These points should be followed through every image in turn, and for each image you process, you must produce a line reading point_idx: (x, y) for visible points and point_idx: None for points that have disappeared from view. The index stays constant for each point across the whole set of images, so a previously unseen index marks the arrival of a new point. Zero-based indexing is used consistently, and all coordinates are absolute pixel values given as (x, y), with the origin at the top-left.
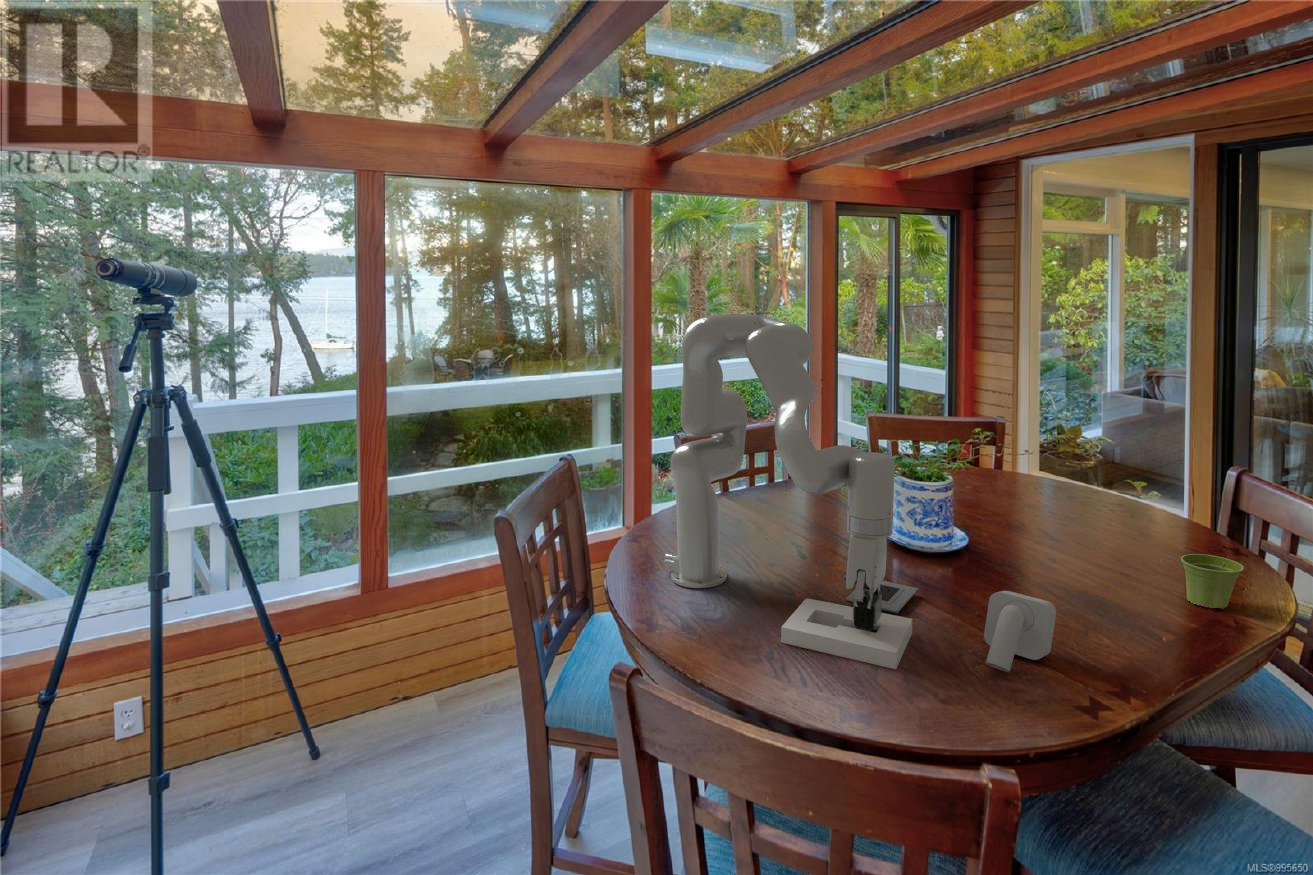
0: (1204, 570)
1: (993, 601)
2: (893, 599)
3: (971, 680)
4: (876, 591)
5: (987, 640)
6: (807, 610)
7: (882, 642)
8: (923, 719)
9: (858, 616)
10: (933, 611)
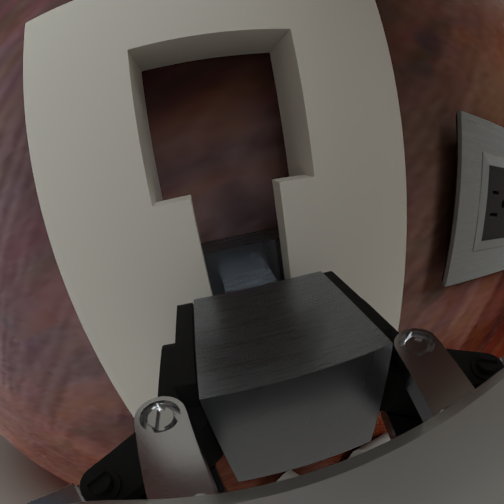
0: None
1: None
2: (492, 245)
3: (223, 470)
4: (390, 423)
5: (360, 453)
6: (255, 2)
7: None
8: (52, 449)
9: (162, 371)
10: (473, 312)
